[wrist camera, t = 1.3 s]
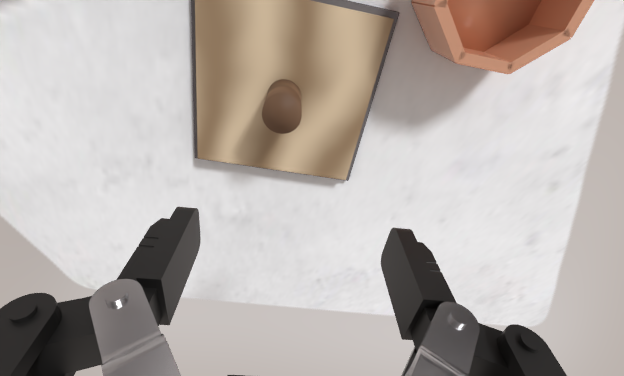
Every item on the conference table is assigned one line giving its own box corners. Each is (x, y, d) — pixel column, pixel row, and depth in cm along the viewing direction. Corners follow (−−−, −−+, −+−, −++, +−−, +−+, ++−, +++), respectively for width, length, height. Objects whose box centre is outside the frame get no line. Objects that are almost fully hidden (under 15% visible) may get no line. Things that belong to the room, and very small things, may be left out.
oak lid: (199, 154, 31) (182, 183, 26) (197, -26, 22) (172, -27, 18) (344, 176, 33) (351, 206, 28) (391, 18, 24) (411, 26, 20)
